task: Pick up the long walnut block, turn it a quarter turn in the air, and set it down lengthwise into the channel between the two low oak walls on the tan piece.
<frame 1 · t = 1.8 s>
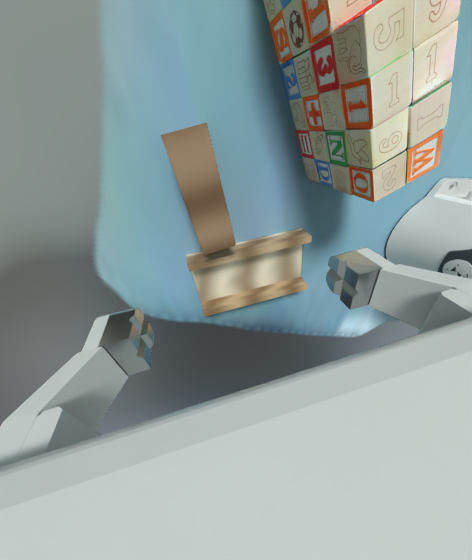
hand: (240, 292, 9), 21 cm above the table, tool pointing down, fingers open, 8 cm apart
stack of blocks: (308, 67, 22), on the table
tan piece: (249, 268, 35), on the table
walnut block: (199, 187, 26), on the table
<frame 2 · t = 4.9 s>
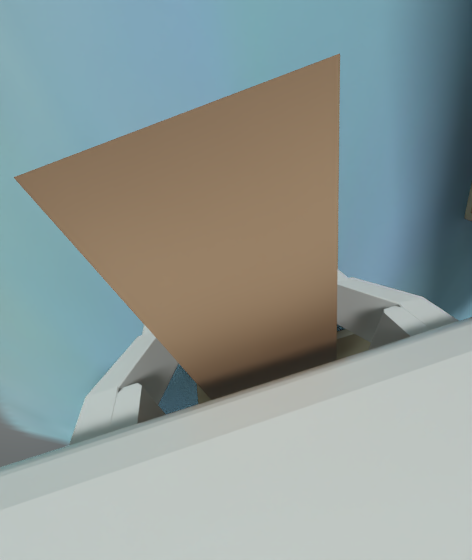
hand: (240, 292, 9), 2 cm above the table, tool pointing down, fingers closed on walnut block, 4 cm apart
tan piece: (305, 373, 19), on the table
walnut block: (229, 264, 11), on the table, touching gripper
when the fingers open (4 cm above the table, at t = 12.3 s): walnut block drops 1 cm, resting on tan piece.
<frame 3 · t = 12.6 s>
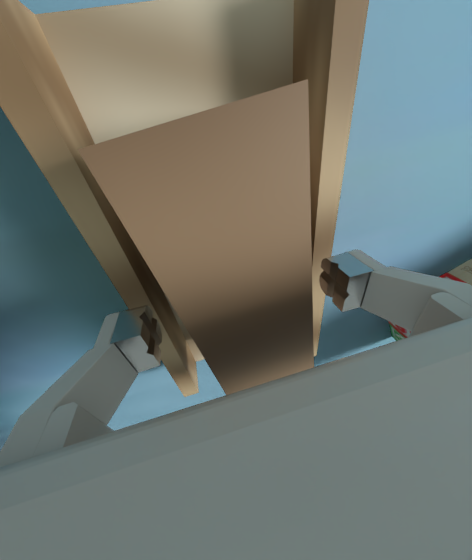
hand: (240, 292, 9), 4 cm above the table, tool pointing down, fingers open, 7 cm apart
tan piece: (222, 247, 12), on the table
walnut block: (224, 252, 12), point 1 cm above the table, touching tan piece
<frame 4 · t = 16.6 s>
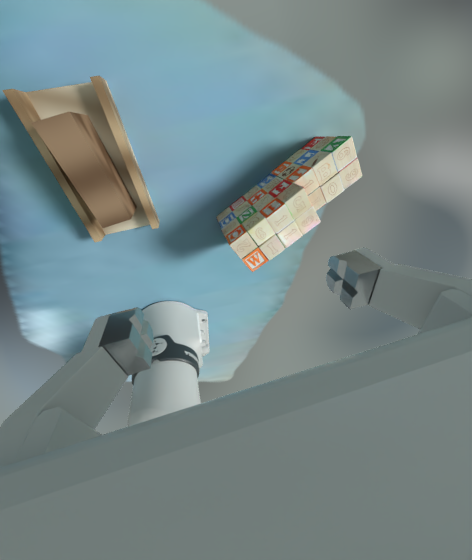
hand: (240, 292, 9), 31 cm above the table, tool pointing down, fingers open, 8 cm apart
stack of blocks: (270, 192, 39), on the table
tan piece: (102, 170, 31), on the table
walnut block: (101, 170, 30), point 1 cm above the table, touching tan piece
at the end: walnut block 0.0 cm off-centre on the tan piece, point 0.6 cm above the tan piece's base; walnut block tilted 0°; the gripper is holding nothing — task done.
